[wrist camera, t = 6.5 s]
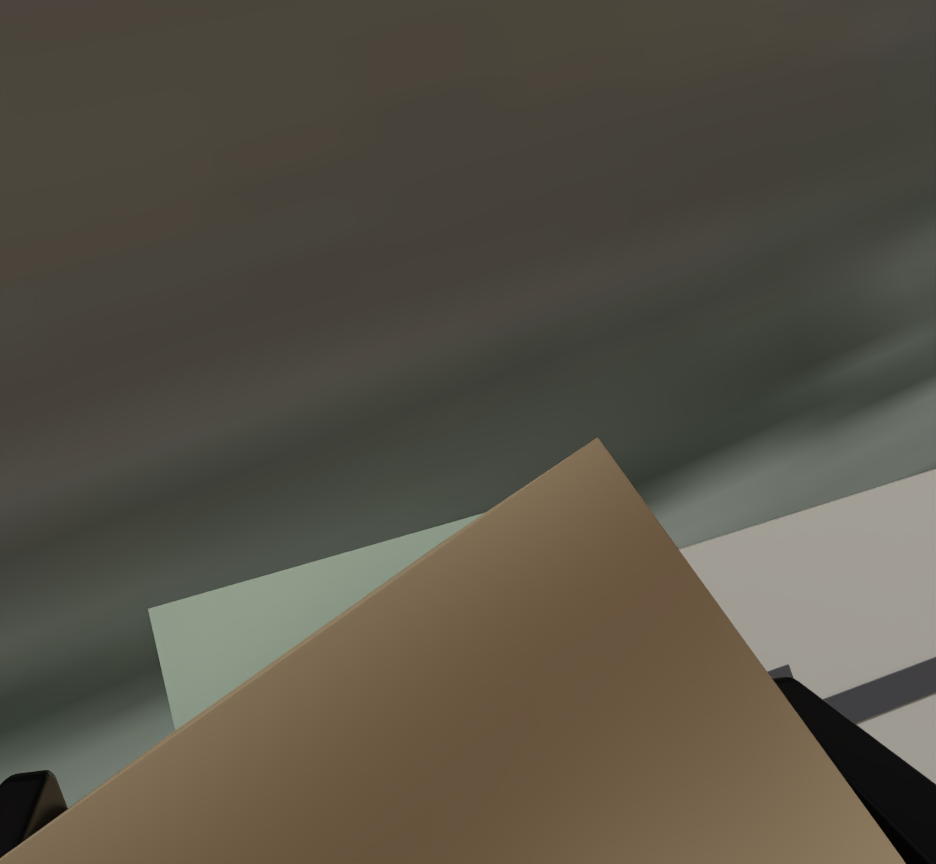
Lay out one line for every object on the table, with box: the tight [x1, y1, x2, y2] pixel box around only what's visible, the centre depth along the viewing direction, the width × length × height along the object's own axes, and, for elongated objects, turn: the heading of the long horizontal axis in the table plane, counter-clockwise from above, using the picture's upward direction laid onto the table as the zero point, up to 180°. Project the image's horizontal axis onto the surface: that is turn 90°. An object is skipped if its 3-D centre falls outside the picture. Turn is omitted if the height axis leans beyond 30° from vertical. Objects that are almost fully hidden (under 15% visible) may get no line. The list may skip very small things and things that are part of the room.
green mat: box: [148, 513, 484, 730], centre depth 16 cm, size 8×8×1 cm
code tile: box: [679, 469, 936, 784], centre depth 18 cm, size 12×12×1 cm
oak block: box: [0, 437, 906, 864], centre depth 10 cm, size 6×6×10 cm
